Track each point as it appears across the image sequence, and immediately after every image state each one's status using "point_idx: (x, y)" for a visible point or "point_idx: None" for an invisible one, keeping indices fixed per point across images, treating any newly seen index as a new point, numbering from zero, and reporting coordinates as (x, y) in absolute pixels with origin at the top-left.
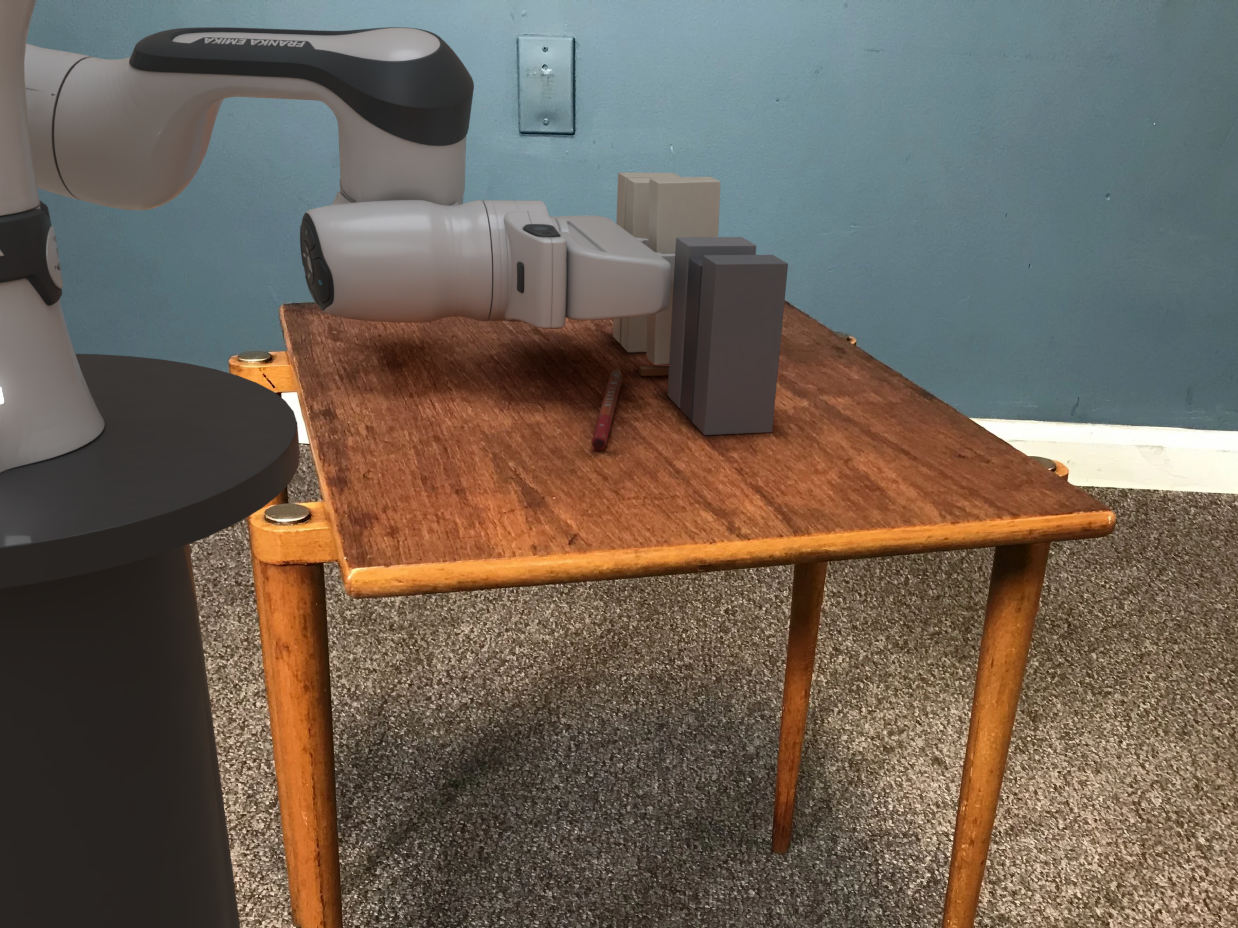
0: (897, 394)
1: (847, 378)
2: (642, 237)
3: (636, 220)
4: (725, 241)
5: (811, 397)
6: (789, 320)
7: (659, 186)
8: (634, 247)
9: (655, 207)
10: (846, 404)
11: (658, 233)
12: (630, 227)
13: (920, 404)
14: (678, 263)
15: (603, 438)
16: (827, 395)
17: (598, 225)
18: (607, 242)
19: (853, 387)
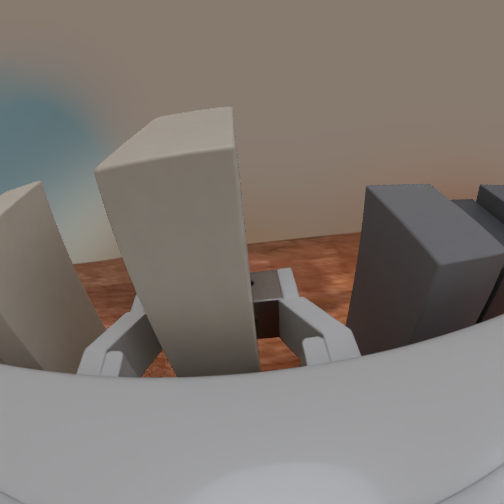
0: (313, 247)
1: (267, 267)
2: (38, 334)
3: (13, 318)
4: (427, 204)
5: (334, 299)
6: (83, 271)
7: (235, 158)
8: (417, 392)
9: (214, 247)
10: (350, 279)
11: (252, 307)
12: (8, 338)
13: (338, 241)
14: (450, 304)
15: None
16: (325, 287)
17: (10, 425)
18: (334, 492)
19: (296, 267)
